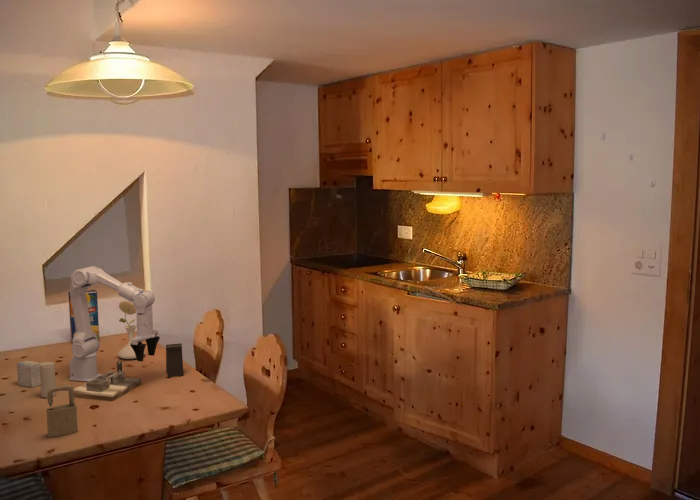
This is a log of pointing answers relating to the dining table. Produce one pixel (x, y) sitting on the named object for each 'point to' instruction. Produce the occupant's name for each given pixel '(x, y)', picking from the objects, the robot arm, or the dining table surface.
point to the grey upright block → (28, 374)
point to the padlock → (61, 414)
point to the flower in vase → (128, 330)
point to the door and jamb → (107, 387)
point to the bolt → (119, 369)
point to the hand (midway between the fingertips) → (145, 358)
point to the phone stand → (174, 360)
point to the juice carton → (93, 313)
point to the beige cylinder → (47, 378)
